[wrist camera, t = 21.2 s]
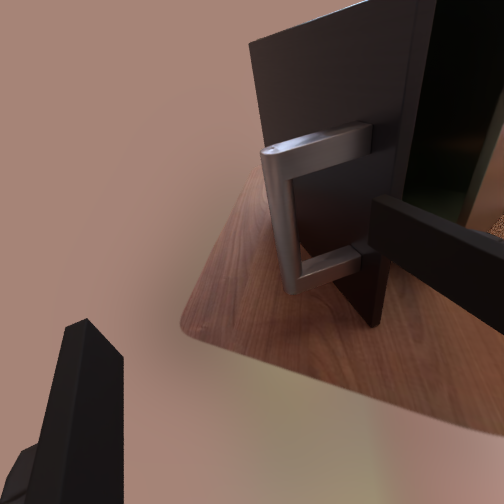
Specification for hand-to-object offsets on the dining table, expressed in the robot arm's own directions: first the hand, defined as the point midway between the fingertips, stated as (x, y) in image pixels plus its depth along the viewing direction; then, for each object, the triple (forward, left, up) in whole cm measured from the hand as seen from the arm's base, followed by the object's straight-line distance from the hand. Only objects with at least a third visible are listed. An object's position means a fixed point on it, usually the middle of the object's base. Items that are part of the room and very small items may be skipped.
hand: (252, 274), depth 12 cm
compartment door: (+9, +15, -15) cm, 23 cm away
